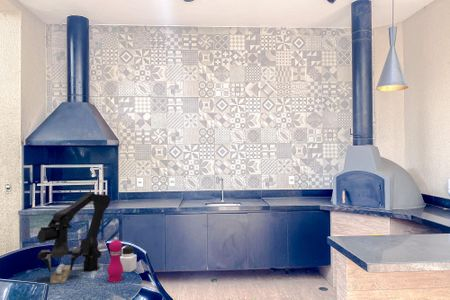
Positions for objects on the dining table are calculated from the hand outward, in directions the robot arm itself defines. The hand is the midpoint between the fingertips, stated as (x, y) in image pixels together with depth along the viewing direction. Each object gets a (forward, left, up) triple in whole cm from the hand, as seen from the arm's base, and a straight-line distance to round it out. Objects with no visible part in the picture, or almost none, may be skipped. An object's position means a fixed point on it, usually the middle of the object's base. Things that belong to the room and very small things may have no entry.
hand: (60, 271), depth 164 cm
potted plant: (-31, -7, -4) cm, 32 cm away
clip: (0, 0, -4) cm, 4 cm away
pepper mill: (-25, +8, -4) cm, 27 cm away
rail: (0, -2, -4) cm, 4 cm away
